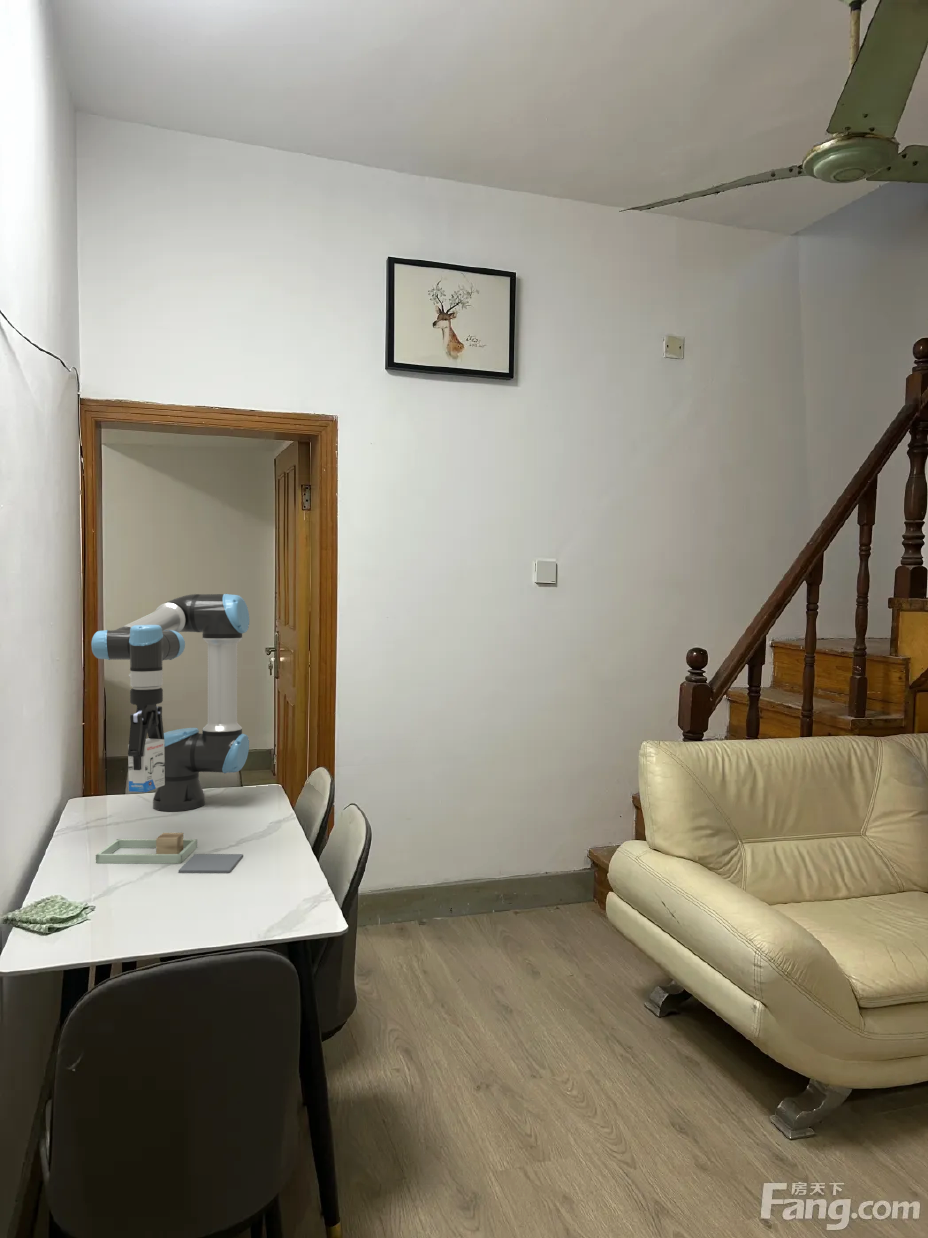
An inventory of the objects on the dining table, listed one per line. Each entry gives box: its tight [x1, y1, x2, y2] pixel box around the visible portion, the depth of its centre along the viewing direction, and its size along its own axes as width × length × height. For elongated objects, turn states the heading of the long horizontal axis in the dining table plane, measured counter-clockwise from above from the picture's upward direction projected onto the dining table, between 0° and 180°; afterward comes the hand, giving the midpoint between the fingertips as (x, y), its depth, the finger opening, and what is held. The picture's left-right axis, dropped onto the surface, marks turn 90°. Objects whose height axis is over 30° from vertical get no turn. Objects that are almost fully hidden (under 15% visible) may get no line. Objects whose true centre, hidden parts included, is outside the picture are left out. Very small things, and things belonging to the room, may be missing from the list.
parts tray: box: [95, 838, 198, 864], centre depth 209 cm, size 13×21×2 cm, turn 90°
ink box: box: [127, 737, 165, 793], centre depth 206 cm, size 9×5×12 cm, turn 167°
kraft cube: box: [155, 832, 184, 854], centre depth 209 cm, size 5×5×5 cm
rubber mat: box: [178, 853, 244, 874], centre depth 202 cm, size 12×12×1 cm
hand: (147, 778), depth 206 cm, fingers closed on ink box, 9 cm apart
